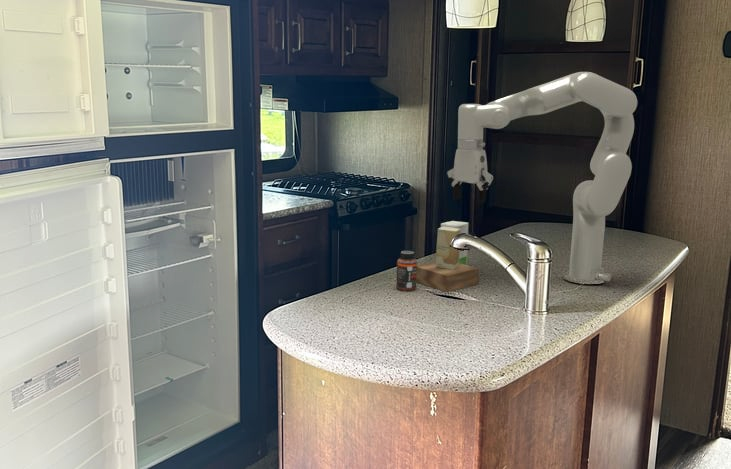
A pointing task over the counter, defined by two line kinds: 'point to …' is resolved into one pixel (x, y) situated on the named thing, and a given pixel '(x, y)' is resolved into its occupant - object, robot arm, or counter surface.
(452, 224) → the skincare box
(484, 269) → the counter surface
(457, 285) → the walnut block
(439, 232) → the skincare box
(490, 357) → the counter surface
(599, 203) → the robot arm
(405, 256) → the supplement bottle
